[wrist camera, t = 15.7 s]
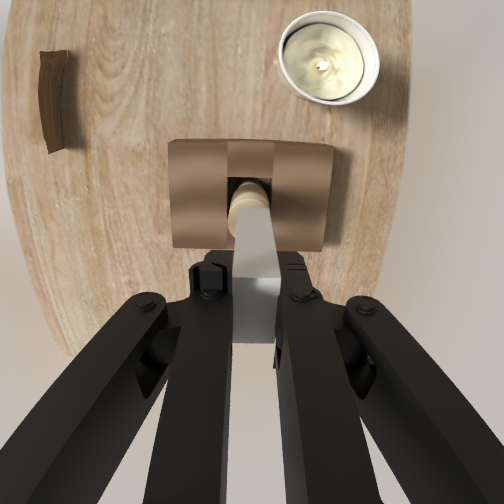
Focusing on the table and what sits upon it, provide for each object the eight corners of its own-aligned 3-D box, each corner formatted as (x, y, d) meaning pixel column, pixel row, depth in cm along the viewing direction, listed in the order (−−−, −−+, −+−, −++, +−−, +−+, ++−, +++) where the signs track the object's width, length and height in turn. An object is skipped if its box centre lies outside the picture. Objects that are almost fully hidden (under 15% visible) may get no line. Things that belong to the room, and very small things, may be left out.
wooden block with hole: (175, 139, 38) (167, 142, 35) (326, 144, 39) (334, 148, 35) (179, 235, 44) (173, 247, 41) (316, 239, 45) (321, 252, 41)
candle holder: (299, 118, 37) (319, 124, 26) (254, 59, 34) (257, 40, 23) (358, 82, 35) (397, 77, 24) (316, 24, 31) (341, -4, 20)
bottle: (233, 174, 41) (227, 201, 30) (267, 175, 41) (273, 202, 30) (233, 205, 43) (227, 242, 32) (265, 206, 43) (270, 243, 32)
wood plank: (71, 147, 38) (53, 153, 33) (61, 149, 38) (42, 155, 33) (67, 50, 31) (49, 46, 26) (56, 54, 31) (37, 51, 26)
